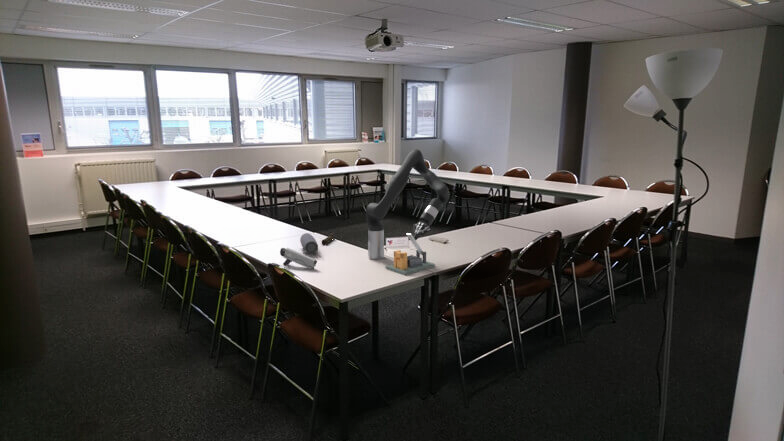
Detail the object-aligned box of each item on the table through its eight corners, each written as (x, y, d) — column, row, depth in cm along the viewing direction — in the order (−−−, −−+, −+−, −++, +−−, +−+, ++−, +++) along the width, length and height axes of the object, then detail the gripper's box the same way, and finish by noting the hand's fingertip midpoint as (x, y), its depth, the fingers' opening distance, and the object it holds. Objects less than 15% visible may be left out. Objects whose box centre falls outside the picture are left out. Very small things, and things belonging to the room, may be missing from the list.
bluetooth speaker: (299, 247, 305) (298, 233, 303) (313, 246, 307) (313, 231, 305) (304, 256, 283) (303, 241, 281) (319, 255, 286) (318, 239, 284)
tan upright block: (399, 265, 259) (399, 250, 257) (407, 268, 254) (407, 252, 252) (393, 267, 256) (393, 251, 254) (401, 269, 251) (401, 253, 249)
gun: (280, 261, 271) (282, 245, 268) (315, 276, 261) (317, 260, 258) (277, 262, 269) (279, 246, 266) (312, 277, 259) (314, 261, 256)
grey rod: (421, 252, 266) (407, 232, 257) (424, 253, 264) (411, 233, 255) (419, 254, 265) (405, 234, 256) (422, 255, 263) (409, 235, 254)
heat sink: (411, 261, 266) (411, 254, 266) (422, 264, 260) (422, 258, 259) (399, 264, 261) (399, 257, 260) (410, 268, 254) (410, 261, 253)
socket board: (415, 260, 273) (415, 247, 272) (434, 266, 262) (435, 252, 260) (385, 268, 259) (385, 254, 257) (404, 275, 247) (404, 260, 245)
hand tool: (327, 245, 310) (326, 238, 309) (321, 245, 311) (321, 238, 310) (337, 238, 328) (337, 232, 327) (332, 238, 329) (331, 232, 328)
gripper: (440, 220, 261) (425, 245, 256) (424, 217, 271) (409, 241, 266) (434, 212, 257) (418, 238, 251) (417, 209, 266) (402, 234, 261)
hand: (413, 239), depth 258 cm, fingers closed
